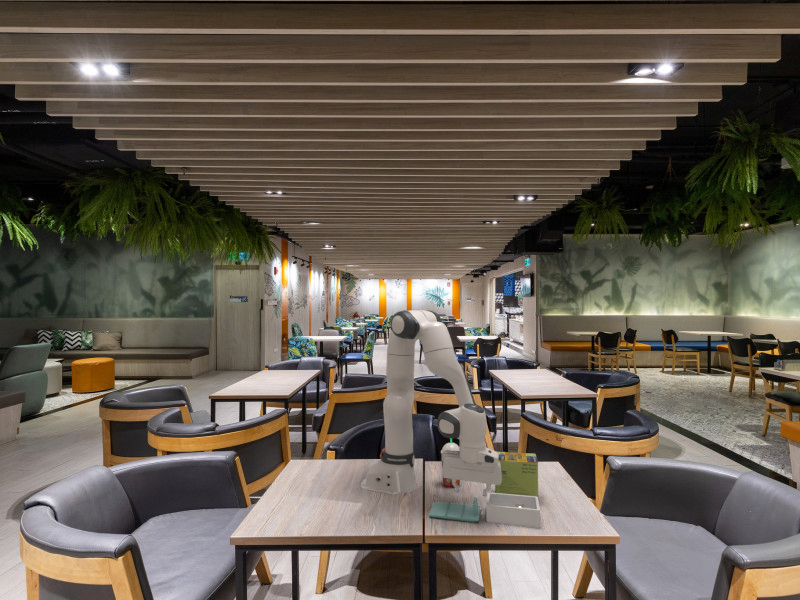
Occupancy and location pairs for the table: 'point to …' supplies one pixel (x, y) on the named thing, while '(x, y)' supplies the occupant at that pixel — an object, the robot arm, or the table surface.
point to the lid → (456, 511)
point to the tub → (513, 509)
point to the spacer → (520, 505)
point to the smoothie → (447, 446)
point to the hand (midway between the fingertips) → (471, 493)
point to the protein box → (518, 474)
